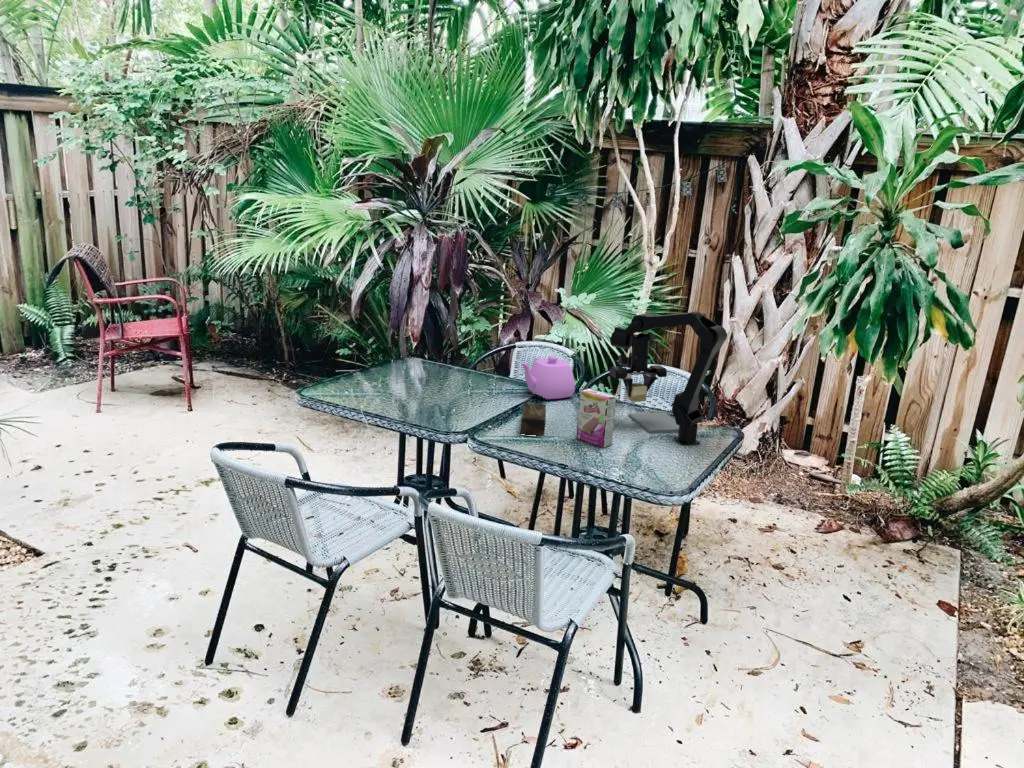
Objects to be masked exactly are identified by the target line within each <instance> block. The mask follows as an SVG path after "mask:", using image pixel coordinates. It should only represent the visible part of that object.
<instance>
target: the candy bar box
mask: <svg viewBox="0 0 1024 768" xmlns="http://www.w3.org/2000/svg"><path fill="white" fill-rule="evenodd" d="M578 398H579V399H578V413H577V426H576V436H575V437H576V438H575V439H577V440H579V441H582V442H584V441H585V443H587V442H588V444H590V443H591V444H590V445H594V446H596V447H599V448H602V447H603V448H602V449H605V448H604V447H606V448H608V447H610V446H612V445H613V437H614V436H613V435H614V428H615V427H614V426H615V425H614V424H615V416H616V415H615V414H616V404H617V396H616V395H612V394H609V393H607V392H606V393H605V392H602V391H599V390H596V389H592V388H585V389H581V390H579V397H578ZM607 446H608V447H607Z"/></svg>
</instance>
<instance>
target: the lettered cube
mask: <svg viewBox="0 0 1024 768" xmlns="http://www.w3.org/2000/svg"><path fill="white" fill-rule="evenodd" d="M647 394H648V392H647V387H646V386H645V385H643V383H641V382H635V383H634V382H633V383H632V391H631V396H630V397H628V395H627V391H626V393H625V398H626V399H627V400H629V401H630V402H632V403H637V402H646V401H647Z"/></svg>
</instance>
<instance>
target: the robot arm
mask: <svg viewBox="0 0 1024 768" xmlns="http://www.w3.org/2000/svg"><path fill="white" fill-rule="evenodd" d="M677 326H690V327H691V328H692V331H694V334H695V335H697V336H698V337H699V338H700V339H699V345H698V346H699V351H698V355H697V357H696V360H695V362H694V365H693V368H692V370H691V372H690V376H689V377H688V380H687V383H686V386H685V388H684V390H683V391H681V392H679V393H677V394H675V395H674V398H673V402H671V403H672V404H670V405H671V406H672V407H671V413H672V414H673V417H674V419H675V421H676V424H677V425H679V431H678V432H677V436H673V439H674V440H675V441H676V442H677V443H679V444H680V445H700V444H701V442H700V441H699V440H698V439H697V434H698V424H699V423H701V422H702V421H703V419H704V416H703V414H702V412H700V409H698V408H699V407H698V406H699V400H700V399H699V393H700V390H701V388H702V386H703V384H704V381H705V379H706V377H707V375H708V374H707V373H708V371H709V369H710V367H711V364H712V361H713V359H714V357H715V355H716V354H717V353H718V352H719V350H720V349H721V348H722V347H723V345H724V344H725V342H726V340H727V338H728V333H727V330H726V329H725V328H724V326H721V325H718V324H717V323H716V322H715V321H713V320H711V319H709V318H708V317H706V316H705V315H704V314H703V313H702V312H700V311H698V310H697V311H696V310H695V311H690V312H681V313H672V314H671V313H670V314H663V315H662V314H657V313H649V312H647V313H646V312H645V313H641V314H636V315H634V316H632V319H631V321H630V324H629V325H627V327H626V328H625V327H621V326H616V327H614V330H613V332H612V333H611V336H610V339H609V342H610V346H611V347H615V348H620V349H624V350H629V349H630V348H631V351H630V352H629V354H628V356H626V354H619V355H618V358H617V361H618V365H620V366H611V367H610V369H609V376H611V377H613V378H614V379H616V380H620V379H621V380H622V382H623V384H624V386H625V387H624V388H625V390H626V392H627V395H628V397H630V396H631V391H632V383H634V382H633V381H634V379H633V378H632V377H631V376H634V375H635V376H637V375H638V376H639V375H640V376H641V375H642V378H643V383H642V384H643V385H645V386H646V387H647V393H648V391H650V388H651V387H652V385H653V384H654V382H655V381H656V380H659V378H666V377H668V369H666V368H665V367H664V366H662V365H660V364H658V365H657V364H655V365H650V366H649V367H648V365H649V360H650V359H651V355H650V354H649V352H650V342H651V341H655V340H656V339H657V337H656V335H654V334H653V332H651V330H653V329H657V328H666V327H677ZM647 331H650V332H648V333H644V332H647ZM636 333H638V334H636ZM621 365H622V366H621Z"/></svg>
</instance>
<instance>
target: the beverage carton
mask: <svg viewBox="0 0 1024 768" xmlns="http://www.w3.org/2000/svg"><path fill="white" fill-rule="evenodd" d="M546 407H547V406H546V404H545V403H535V402H534V403H533V402H532V401H528V402H524V403H523V407H522V408H523V409H522V412H521V413H522V415H521V419H520V433H519V435H520V434H525V435H536V436H543V437H544V435H545V430H546V422H547V421H546V420H547V416H546V415H547V409H546Z"/></svg>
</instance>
